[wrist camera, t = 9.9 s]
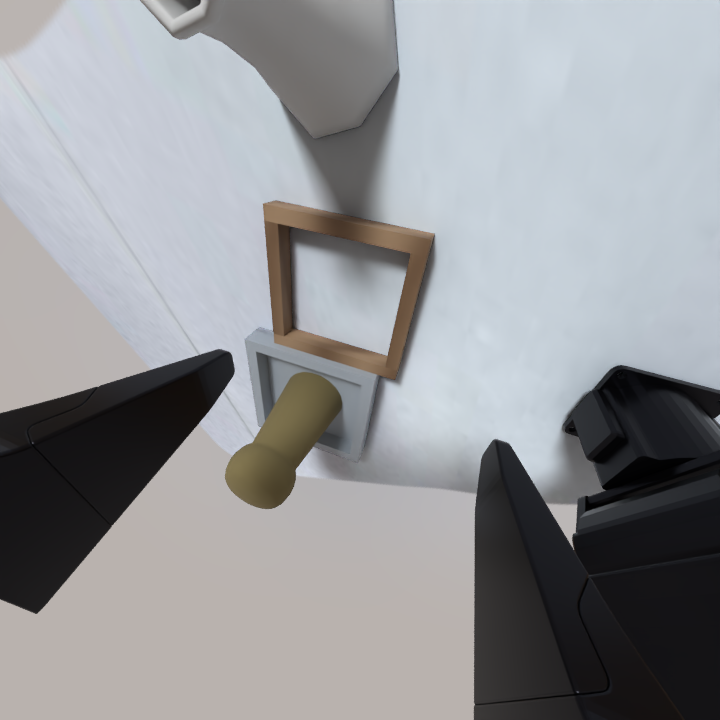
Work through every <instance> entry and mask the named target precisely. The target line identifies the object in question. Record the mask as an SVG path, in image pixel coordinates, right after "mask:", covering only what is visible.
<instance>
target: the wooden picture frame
mask: <svg viewBox="0 0 720 720" xmlns="http://www.w3.org/2000/svg"><path fill="white" fill-rule="evenodd" d="M263 210H264V222H265V234H266V247H267V259H268V271H269V284H270V296H271V308H272V321H273V333H274V343H276V344H280V345H283V346H286V347H289V348H292V349H296V350H299V351H302V352H305V353H309V354H312V355H315V356H318V357H322V358H325V359H328V360H331V361H334V362H338V363H341V364H344V365H347V366H351V367H354V368H357V369H360V370H364V371H367V372H370V373H373V374H376V375H380V376H383V377H386V378H389V379H393V380H395V378H396V376H397V373H398V370H399V367H400V363H401V359H402V355H403V351H404V348H405V344H406V340H407V336H408V333H409V329H410V325H411V321H412V318H413V314H414V310H415V306H416V302H417V299H418V295H419V291H420V287H421V284H422V280H423V276H424V272H425V268H426V265H427V261H428V257H429V253H430V250H431V246H432V242H433V238H434V234H433V233H428V232H423V231H419V230H414V229H409V228H404V227H399V226H395V225H390V224H385V223H380V222H376V221H371V220H366V219H361V218H356V217H352V216H347V215H342V214H337V213H333V212H328V211H323V210H318V209H314V208H309V207H304V206H299V205H294V204H290V203H285V202H280V201H272V202H268V203H264V204H263ZM289 226H291V227H295V228H300V229H304V230H309V231H313V232H318V233H322V234H326V235H331V236H335V237H340V238H344V239H349V240H353V241H358V242H362V243H366V244H371V245H375V246H380V247H384V248H389V249H393V250H398V251H402V252H406V253H411V254H410V259H409V263H408V268H407V272H406V277H405V281H404V285H403V290H402V294H401V299H400V303H399V308H398V312H397V317H396V321H395V326H394V330H393V334H392V339H391V343H390V348H389V352H388V356H385V355H382V354H378V353H375V352H372V351H368V350H365V349H362V348H358V347H355V346H351V345H348V344H345V343H341V342H338V341H334V340H331V339H328V338H324V337H321V336H318V335H314V334H311V333H307V332H304V331H301V330H297V329H294V328H293V323H292V291H291V259H290V228H289Z"/></svg>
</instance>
